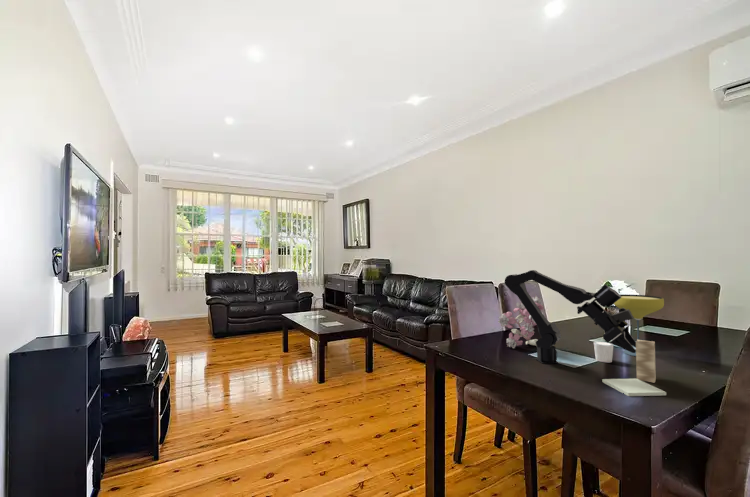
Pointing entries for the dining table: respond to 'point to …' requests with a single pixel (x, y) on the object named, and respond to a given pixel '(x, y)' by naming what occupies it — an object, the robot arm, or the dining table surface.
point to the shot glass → (603, 351)
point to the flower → (523, 316)
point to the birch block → (645, 360)
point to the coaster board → (633, 387)
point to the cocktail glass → (639, 308)
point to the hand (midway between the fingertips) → (636, 349)
